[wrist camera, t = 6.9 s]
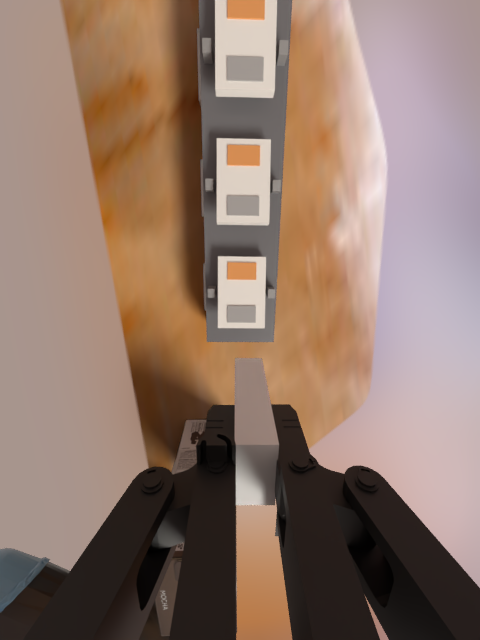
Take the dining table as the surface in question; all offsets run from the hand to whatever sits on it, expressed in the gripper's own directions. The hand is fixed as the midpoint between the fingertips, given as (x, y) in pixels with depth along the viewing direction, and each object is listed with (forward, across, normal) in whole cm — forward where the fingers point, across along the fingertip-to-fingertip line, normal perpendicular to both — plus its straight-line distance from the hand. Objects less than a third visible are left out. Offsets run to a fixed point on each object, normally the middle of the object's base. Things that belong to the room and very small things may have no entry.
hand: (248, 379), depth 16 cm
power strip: (+16, 0, -11) cm, 19 cm away
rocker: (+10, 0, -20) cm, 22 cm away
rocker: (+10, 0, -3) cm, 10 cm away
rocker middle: (+10, 0, -11) cm, 15 cm away
